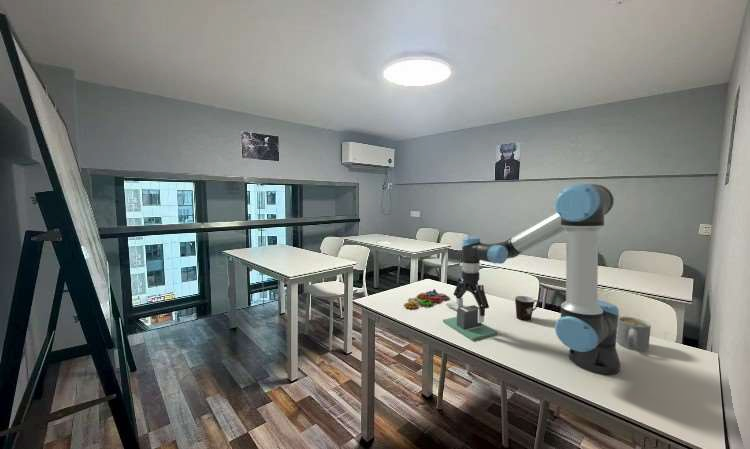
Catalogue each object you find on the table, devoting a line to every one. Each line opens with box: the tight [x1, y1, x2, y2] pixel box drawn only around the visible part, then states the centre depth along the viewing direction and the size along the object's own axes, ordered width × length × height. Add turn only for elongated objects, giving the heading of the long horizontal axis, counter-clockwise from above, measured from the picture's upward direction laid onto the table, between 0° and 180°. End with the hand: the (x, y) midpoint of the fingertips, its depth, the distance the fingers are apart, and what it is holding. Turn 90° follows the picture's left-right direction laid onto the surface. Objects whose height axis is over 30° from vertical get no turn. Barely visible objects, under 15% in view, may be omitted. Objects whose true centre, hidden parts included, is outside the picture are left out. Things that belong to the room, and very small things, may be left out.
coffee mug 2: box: [616, 316, 652, 353], centre depth 121 cm, size 13×10×10 cm
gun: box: [446, 300, 468, 311], centre depth 157 cm, size 18×4×10 cm
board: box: [442, 316, 498, 342], centre depth 138 cm, size 20×14×5 cm
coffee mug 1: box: [514, 295, 540, 322], centre depth 148 cm, size 12×9×10 cm
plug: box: [456, 304, 481, 330], centre depth 138 cm, size 5×10×8 cm, turn 114°
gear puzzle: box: [403, 288, 451, 310], centre depth 172 cm, size 31×16×4 cm, turn 131°
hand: (469, 316), depth 137 cm, fingers open, 13 cm apart
